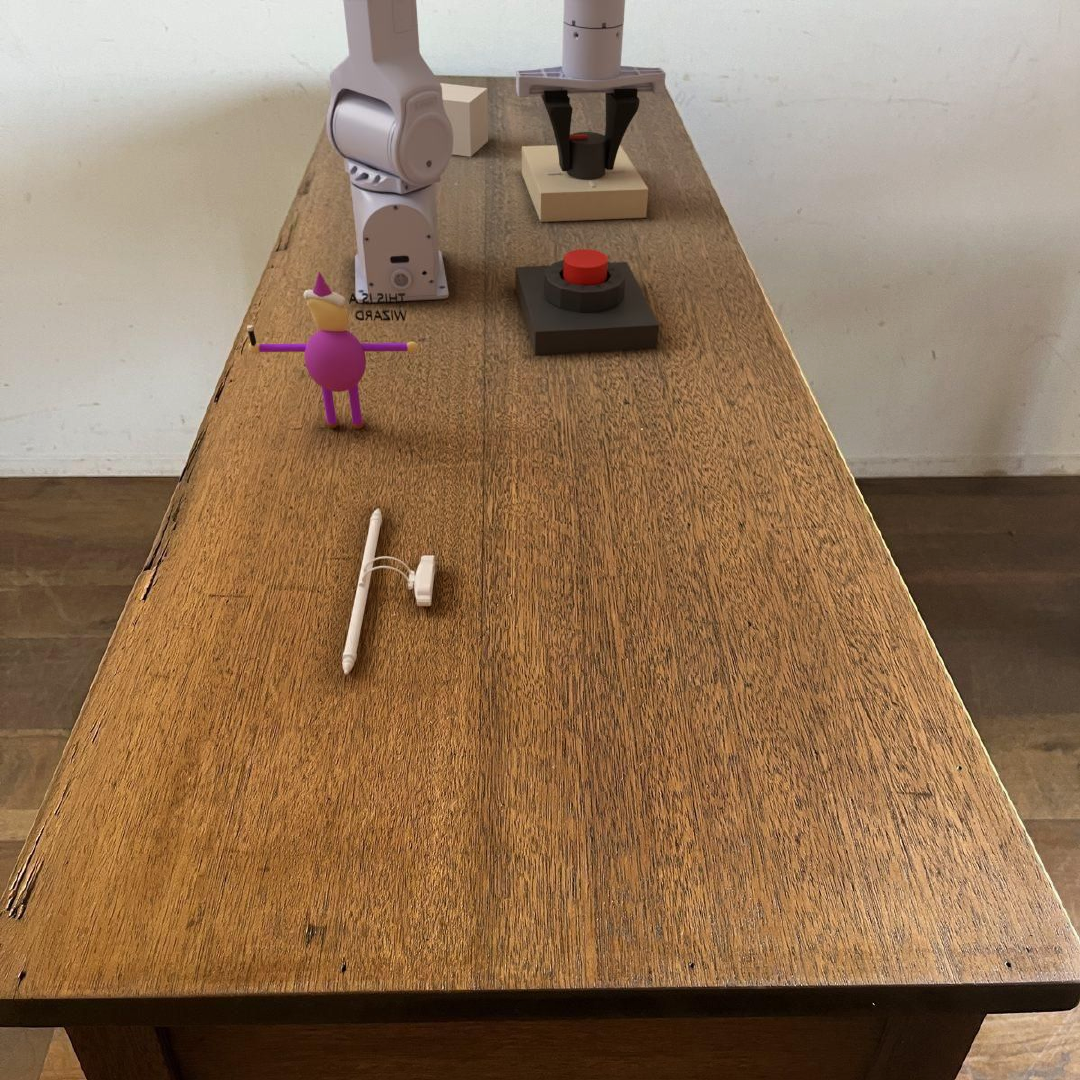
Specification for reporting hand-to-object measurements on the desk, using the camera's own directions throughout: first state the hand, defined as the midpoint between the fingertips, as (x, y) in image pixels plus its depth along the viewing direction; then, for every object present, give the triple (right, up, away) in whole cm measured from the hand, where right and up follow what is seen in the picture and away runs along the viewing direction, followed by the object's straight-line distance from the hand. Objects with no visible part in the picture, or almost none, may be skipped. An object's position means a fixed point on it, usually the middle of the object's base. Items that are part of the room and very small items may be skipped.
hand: (586, 167), depth 102 cm
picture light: (-13, -42, -44) cm, 62 cm away
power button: (-1, -17, -20) cm, 26 cm away
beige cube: (-15, +8, +15) cm, 23 cm away
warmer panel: (0, -1, +4) cm, 4 cm away
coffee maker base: (-1, -20, -18) cm, 27 cm away
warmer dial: (0, 0, 0) cm, 1 cm away
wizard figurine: (-19, -31, -32) cm, 48 cm away
